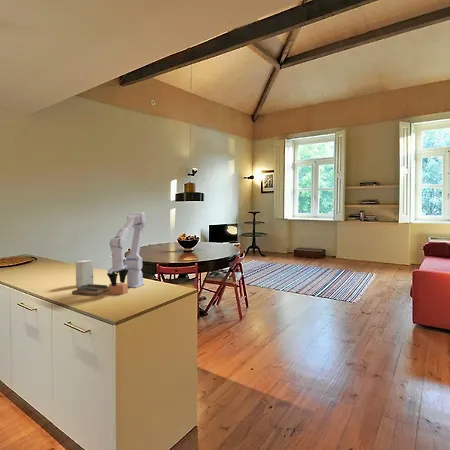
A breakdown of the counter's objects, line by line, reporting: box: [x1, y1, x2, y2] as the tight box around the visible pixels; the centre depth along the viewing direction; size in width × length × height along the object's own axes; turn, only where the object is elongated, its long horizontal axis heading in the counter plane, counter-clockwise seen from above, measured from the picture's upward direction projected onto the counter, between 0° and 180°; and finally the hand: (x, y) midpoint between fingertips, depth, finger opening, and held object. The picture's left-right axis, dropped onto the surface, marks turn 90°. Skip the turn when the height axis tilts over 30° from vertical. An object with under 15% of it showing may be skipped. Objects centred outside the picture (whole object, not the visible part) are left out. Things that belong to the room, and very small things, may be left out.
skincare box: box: [75, 259, 94, 287], centre depth 198 cm, size 8×6×15 cm
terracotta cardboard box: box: [108, 282, 129, 295], centre depth 181 cm, size 4×9×5 cm, turn 73°
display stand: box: [71, 283, 109, 297], centre depth 184 cm, size 14×16×3 cm
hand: (118, 284), depth 181 cm, fingers open, 7 cm apart
